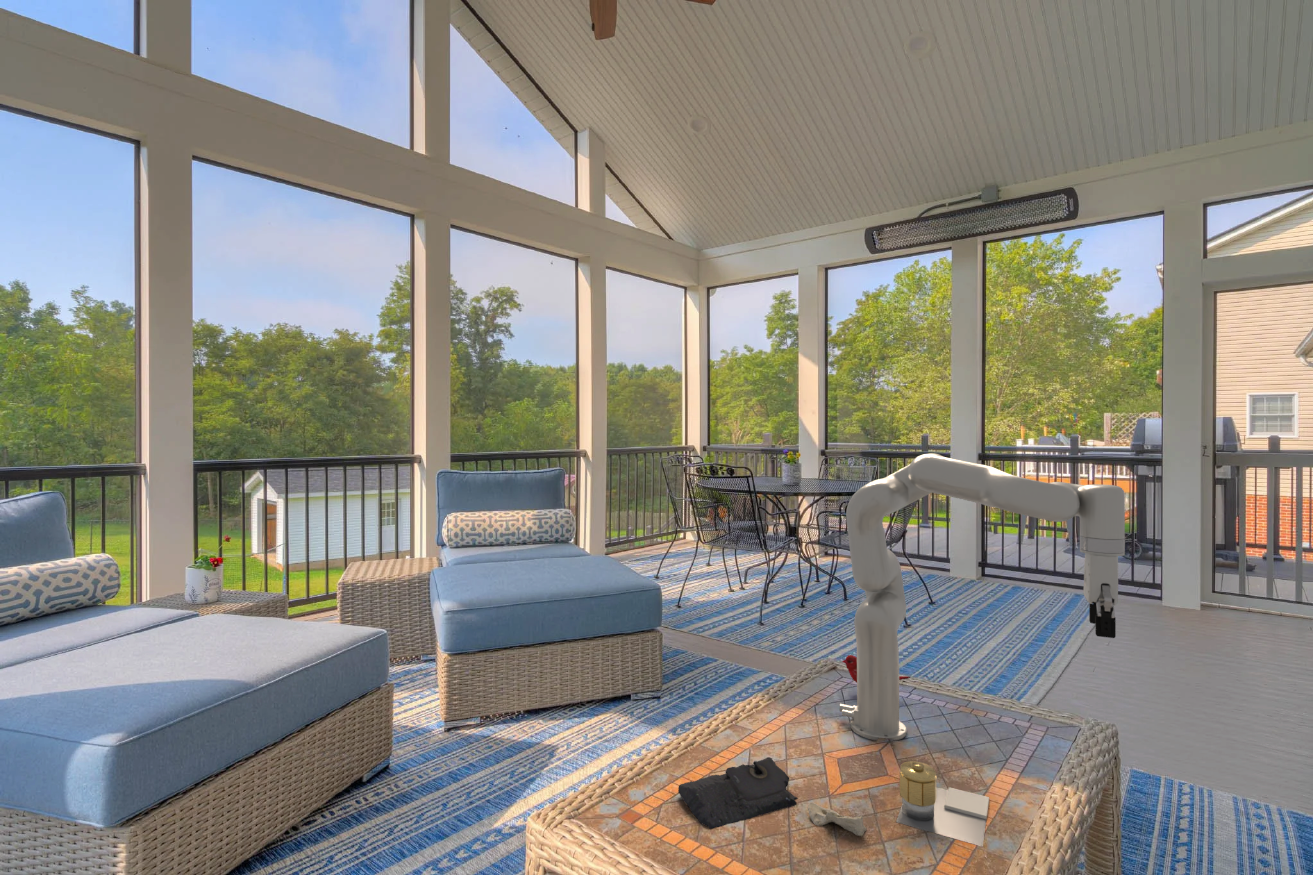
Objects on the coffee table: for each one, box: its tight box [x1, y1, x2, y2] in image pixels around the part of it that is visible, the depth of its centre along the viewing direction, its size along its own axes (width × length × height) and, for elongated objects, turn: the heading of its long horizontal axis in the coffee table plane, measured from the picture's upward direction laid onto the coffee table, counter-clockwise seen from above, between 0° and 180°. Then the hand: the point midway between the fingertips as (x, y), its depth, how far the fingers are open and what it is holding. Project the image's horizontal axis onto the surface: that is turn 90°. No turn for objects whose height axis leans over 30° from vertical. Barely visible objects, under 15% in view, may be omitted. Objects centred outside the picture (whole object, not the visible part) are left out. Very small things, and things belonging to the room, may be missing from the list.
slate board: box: [895, 786, 987, 848], centre depth 120 cm, size 14×16×1 cm
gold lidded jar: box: [899, 760, 937, 806], centre depth 120 cm, size 6×6×6 cm
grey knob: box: [901, 797, 934, 821], centre depth 120 cm, size 5×5×7 cm
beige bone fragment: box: [807, 801, 868, 837], centre depth 117 cm, size 6×10×4 cm, turn 59°
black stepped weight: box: [677, 756, 798, 829], centre depth 127 cm, size 15×22×5 cm
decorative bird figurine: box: [841, 654, 911, 684], centre depth 176 cm, size 3×18×10 cm, turn 67°
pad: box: [944, 786, 990, 820], centre depth 122 cm, size 7×7×1 cm
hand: (1101, 630), depth 132 cm, fingers open, 9 cm apart
